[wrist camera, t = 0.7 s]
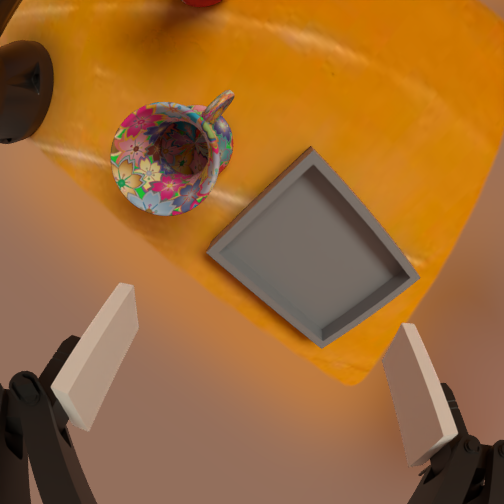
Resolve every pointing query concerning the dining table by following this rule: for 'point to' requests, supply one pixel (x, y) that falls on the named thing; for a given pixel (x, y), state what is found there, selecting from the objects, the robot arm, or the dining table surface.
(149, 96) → the dining table surface
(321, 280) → the tray
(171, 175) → the mug
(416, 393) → the robot arm
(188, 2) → the beverage can
